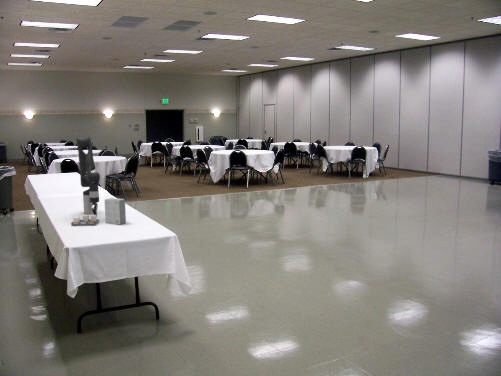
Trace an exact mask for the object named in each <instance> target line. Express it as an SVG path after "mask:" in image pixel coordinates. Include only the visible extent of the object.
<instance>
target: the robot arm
mask: <svg viewBox="0 0 501 376" xmlns="http://www.w3.org/2000/svg"><path fill="white" fill-rule="evenodd" d="M76 146H77V151H78V152H77V153H78V164H79V171H80V173H79V176H80V186H81V187H82V188H88V189H86V190H83V191H82V197H83V201H82V202H83V215H96V218H97V216H98V213H97V212H98V207H99V204H98V203H99V202H100V193H99V183H100V180H101V175H100V173H99V172H98V171H96V172H92V171H94V170H96V164H95V159H94V154H93V153H94V152H93V146H92V139H91V137H90V136H89V135H85V136H78V137H77V138H76ZM84 148H88V149H87V153H86V152H85V151H84V150H83V149H84Z"/></svg>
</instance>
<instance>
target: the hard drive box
mask: <svg viewBox="0 0 501 376" xmlns="http://www.w3.org/2000/svg"><path fill="white" fill-rule="evenodd" d="M104 212H105V213H104V214H105V215H104V216H105V223H106V224H113V225H123V224H126V223H127V217H126V216H127V215H126V199H125V198H114V197H113V198H112V197H109V198H106V199H105V198H104Z"/></svg>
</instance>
